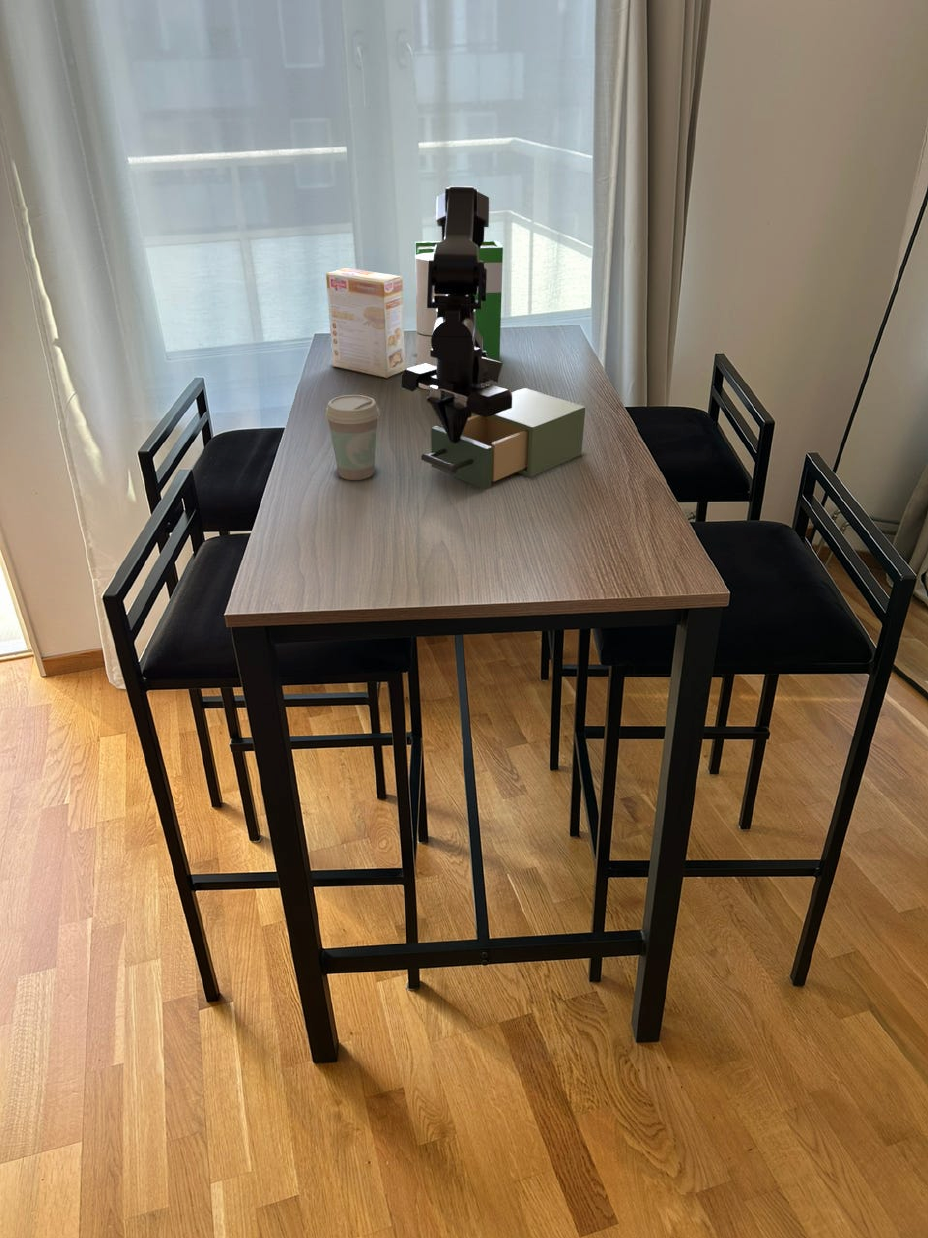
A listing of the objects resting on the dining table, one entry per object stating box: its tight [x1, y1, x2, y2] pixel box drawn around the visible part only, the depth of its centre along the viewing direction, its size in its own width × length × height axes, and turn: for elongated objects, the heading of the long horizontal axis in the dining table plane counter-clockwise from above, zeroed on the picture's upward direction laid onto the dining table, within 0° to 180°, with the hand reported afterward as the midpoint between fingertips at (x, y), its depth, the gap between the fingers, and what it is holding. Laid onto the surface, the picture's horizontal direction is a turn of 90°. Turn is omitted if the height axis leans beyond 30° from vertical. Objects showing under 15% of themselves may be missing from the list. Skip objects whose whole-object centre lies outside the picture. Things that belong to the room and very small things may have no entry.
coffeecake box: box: [325, 267, 406, 379], centre depth 187 cm, size 15×7×20 cm, turn 58°
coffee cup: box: [325, 394, 381, 481], centre depth 143 cm, size 9×9×12 cm
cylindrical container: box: [414, 253, 446, 391], centre depth 178 cm, size 7×7×25 cm
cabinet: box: [471, 387, 586, 478], centre depth 151 cm, size 14×14×9 cm
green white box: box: [414, 240, 504, 362], centre depth 193 cm, size 18×7×24 cm, turn 98°
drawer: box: [420, 415, 529, 490], centre depth 144 cm, size 17×12×7 cm
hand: (454, 442), depth 139 cm, fingers closed
